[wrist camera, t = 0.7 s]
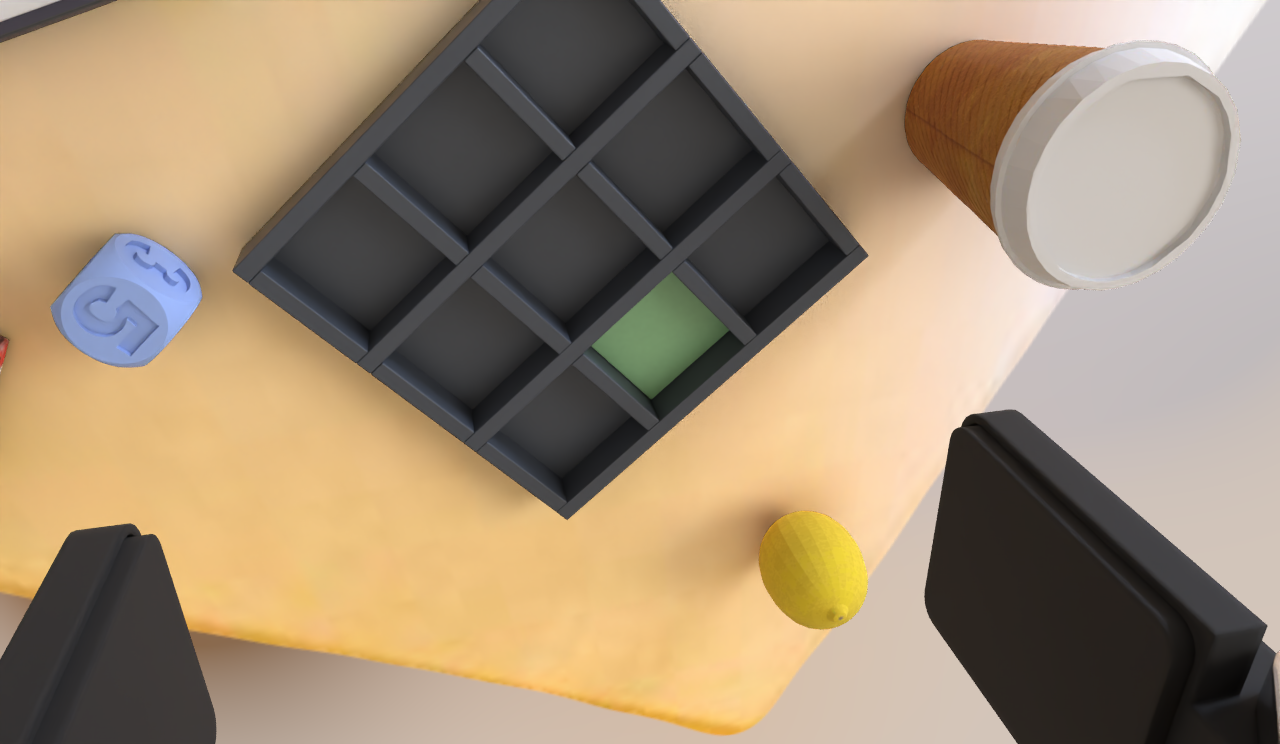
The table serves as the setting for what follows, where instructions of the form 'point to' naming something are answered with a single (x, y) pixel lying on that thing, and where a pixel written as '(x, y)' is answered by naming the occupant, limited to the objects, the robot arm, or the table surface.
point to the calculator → (39, 14)
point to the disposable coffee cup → (1079, 152)
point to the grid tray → (555, 238)
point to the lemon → (813, 570)
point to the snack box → (3, 349)
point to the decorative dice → (127, 302)
